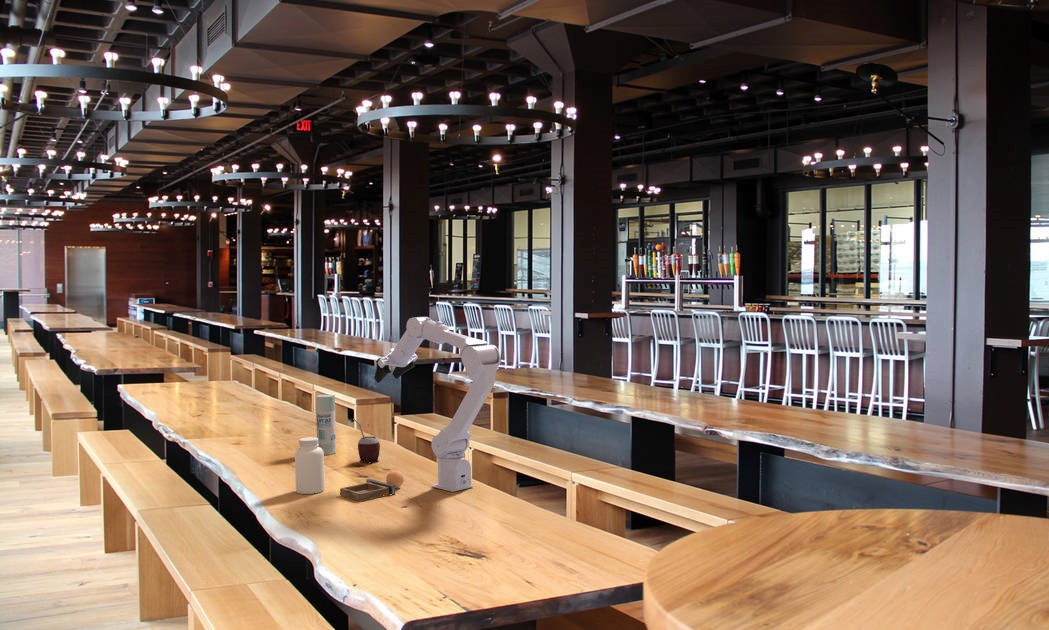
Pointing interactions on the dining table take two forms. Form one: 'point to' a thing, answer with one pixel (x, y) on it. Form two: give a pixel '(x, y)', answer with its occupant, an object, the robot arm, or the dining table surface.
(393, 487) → the rail
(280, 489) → the dining table surface
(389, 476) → the ball
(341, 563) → the dining table surface
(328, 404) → the spray paint can
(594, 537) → the dining table surface
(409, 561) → the dining table surface
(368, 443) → the mate gourd
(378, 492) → the tray
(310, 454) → the pill bottle
